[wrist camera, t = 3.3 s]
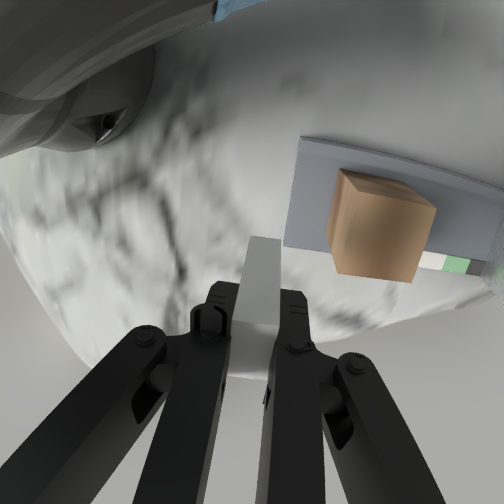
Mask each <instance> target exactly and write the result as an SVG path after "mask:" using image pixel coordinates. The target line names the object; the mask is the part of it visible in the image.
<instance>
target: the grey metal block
mask: <svg viewBox="0 0 504 504" xmlns="http://www.w3.org/2000/svg"><path fill="white" fill-rule="evenodd" d="M485 262H486V263H485V265H484V268H483V270H482V273H481V275H480V277H481V278H482V279H483V280H484V281H485V283H486V284H487V285H488V286H489V287H490V288H491V290H492V291H493V292H494V293H495V294H496V296H497V297H498V298H499V299H500V300H501V302H502V303H503V304H504V209H503V213H502V216H501V219H500V222H499V225H498V228H497V231H496V234H495V237H494V239H493V242H492V245H491V247H490V250H489V253H488V255H487V258H486V260H485Z"/></svg>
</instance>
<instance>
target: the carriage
mask: <svg viewBox="0 0 504 504" xmlns="http://www.w3.org/2000/svg"><path fill="white" fill-rule="evenodd" d="M436 210H437V208H436V207H435V206H433V205H432V204H431V203H430V202H428V201H427V200H426V199H425V198H423V197H422V196H421V195H419V194H418V193H417V192H415V191H414V190H413V189H411V188H410V187H409V186H407V185H406V184H405V183H403V182H401V181H397V180H392V179H388V178H383V177H379V176H374V175H369V174H365V173H360V172H355V171H350V170H345V169H339V170H338V175H337V180H336V186H335V191H334V196H333V200H332V205H331V210H330V215H329V220H328V224H327V229H326V233H325V234H326V237H327V240H328V243H329V246H330V250H331V253H332V256H333V259H334V263H335V266H336V270H337V273H338V274H345V275H352V276H360V277H368V278H376V279H383V280H391V281H399V282H407V283H412V280H413V278H414V275H415V272H416V270H417V267H418V264H419V262H420V259H421V256H422V253H423V250H424V247H425V244H426V242H427V239H428V235H429V232H430V229H431V226H432V223H433V220H434V216H435V213H436Z"/></svg>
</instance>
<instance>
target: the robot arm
mask: <svg viewBox="0 0 504 504" xmlns="http://www.w3.org/2000/svg"><path fill="white" fill-rule="evenodd" d="M265 1H268V0H0V158H2V157H5V156H8V155H10V154H13V153H16V152H19V151H22V150H24V149H27V148H30V147H33V146H37V147H42V148H48V149H53V150H59V151H65V152H77V151H83V150H87V149H90V148H93V147H96V146H99V145H102V144H104V143H106V142H108V141H110V140H112V139H114V138H115V137H116V136H118V135H119V134H120V133H122V132H123V131H124V130H125V129H126V128H127V127H128V126H129V125H130V124H131V122H132V121H133V120H134V119H135V117H136V116H137V114H138V113H139V111H140V110H141V108H142V106H143V104H144V102H145V100H146V97H147V95H148V92H149V89H150V86H151V82H152V77H153V70H154V53H153V47H152V44H153V43H156V42H158V41H160V40H162V39H165V38H167V37H170V36H172V35H174V34H177V33H179V32H182V31H184V30H187V29H189V28H192V27H195V26H198V25H200V24H203V23H206V22H209V21H213V22H214V23H216V22H219V21H222V20H224V19H225V18H226V17H227V16H228V15H229V14H230V13H233V12H235V11H238V10H241V9H243V8H246V7H249V6H252V5H255V4H258V3H261V2H265ZM280 276H281V240H280V239H273V238H265V237H258V236H251V237H250V241H249V246H248V250H247V255H246V259H245V263H244V268H243V272H242V277H241V281H240V284H238V283H231V282H224V281H217V282H216V283H215V284H213V285H212V286H211V288H210V290H209V293H208V296H207V299H206V302H205V303H204V304H199V305H197V306H195V307H194V308H193V309H192V310H191V312H190V332H189V333H186V334H183V335H177V336H166V335H165V333H164V332H163V330H161V329H160V328H158V327H156V326H152V325H142V326H139V327H135V328H134V329H132V330H131V331H130V332H129V333H128V334H127V335H126V336H125V337H124V338H123V339H122V340H121V341H120V342H119V343H118V344H117V345H116V346H115V347H114V348H113V349H112V350H111V351H110V352H109V353H108V354H107V355H106V356H105V357H104V358H103V359H102V360H101V361H100V362H99V363H98V364H97V365H96V366H95V367H94V368H93V369H92V370H91V371H90V372H89V373H88V375H86V376H85V377H84V379H83V380H81V381H80V383H79V384H78V385H77V386H76V387H75V388H74V389H73V390H72V391H71V392H70V393H69V394H68V395H67V396H66V397H65V398H64V399H63V400H62V401H61V402H60V403H59V405H58V406H57V407H56V408H55V409H54V410H53V411H52V412H51V413H50V414H49V415H48V416H47V417H46V418H45V419H44V421H42V423H41V424H40V425H39V426H38V427H37V428H36V429H35V430H34V431H33V432H32V433H31V434H30V435H29V437H28V438H27V439H26V440H25V441H24V442H23V443H22V444H21V445H20V446H19V448H18V449H17V450H16V451H15V452H14V453H13V454H12V455H11V456H10V458H9V459H8V460H7V461H6V462H5V463H4V464H3V465H2V466H1V468H0V504H90V503H91V502H92V501H93V499H94V498H95V497H96V495H97V494H98V492H99V491H100V490H101V488H102V487H103V486H104V484H105V483H106V482H107V480H108V479H109V478H110V476H111V475H112V473H113V472H114V471H115V469H116V468H117V467H118V465H119V464H120V462H121V461H122V460H123V458H124V457H125V455H126V454H127V453H128V451H129V450H130V449H131V447H132V446H133V444H134V443H135V441H136V440H137V439H138V437H139V436H140V435H141V433H142V432H143V430H144V429H145V428H146V426H147V425H148V423H149V422H150V420H151V419H152V418H153V416H154V415H155V414H156V412H157V411H158V409H159V408H160V406H161V405H162V404H163V402H164V401H165V400H166V402H165V404H164V408H163V411H162V413H161V416H160V419H159V422H158V425H157V428H156V431H155V434H154V437H153V440H152V443H151V446H150V449H149V452H148V455H147V458H146V461H145V465H144V468H143V471H142V474H141V478H140V480H139V483H138V487H137V490H136V493H135V496H134V500H133V503H132V504H203V501H204V496H205V491H206V486H207V480H208V475H209V470H210V465H211V459H212V454H213V449H214V444H215V438H216V433H217V428H218V422H219V417H220V412H221V407H222V402H223V397H224V391H225V386H226V377H227V375H229V376H236V377H243V378H250V379H258V380H265V381H267V379H268V384H267V388H266V392H265V396H264V401H263V404H264V416H263V427H262V439H261V450H260V461H259V471H258V481H257V491H256V501H255V504H325V503H326V502H325V469H324V447H323V432H324V435H325V438H326V440H327V443H328V446H329V449H330V452H331V455H332V457H333V460H334V463H335V466H336V469H337V472H338V475H339V478H340V481H341V483H342V486H343V489H344V492H345V495H346V498H347V501H348V504H446V503H445V501H444V499H443V496H442V494H441V492H440V490H439V488H438V486H437V484H436V482H435V480H434V478H433V475H432V473H431V471H430V469H429V467H428V466H427V463H426V461H425V459H424V457H423V455H422V453H421V451H420V450H419V447H418V445H417V443H416V441H415V440H414V438H413V436H412V434H411V432H410V430H409V428H408V426H407V424H406V422H405V420H404V419H403V417H402V415H401V413H400V411H399V409H398V407H397V406H396V404H395V402H394V400H393V398H392V397H391V394H390V393H389V391H388V389H387V387H386V386H385V384H384V382H383V380H382V378H381V376H380V375H379V373H378V371H377V369H376V367H375V366H374V364H373V363H372V361H371V360H370V359H369V358H367V357H366V356H364V355H362V354H359V353H353V352H349V353H346V354H343V355H342V356H340V357H339V359H336V358H333V357H330V356H327V355H325V354H323V353H321V352H320V351H318V350H317V349H316V347H315V344H314V342H313V341H312V340H311V336H310V326H309V315H308V305H307V299H306V297H305V296H304V294H303V293H302V292H301V291H295V290H287V289H280ZM166 398H167V399H166Z"/></svg>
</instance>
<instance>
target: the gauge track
mask: <svg viewBox="0 0 504 504" xmlns="http://www.w3.org/2000/svg"><path fill="white" fill-rule="evenodd" d="M339 169H345V170H350V171H355V172H360V173H365V174H369V175H374V176H379V177H383V178H388V179H392V180H397V181H401V182H403V183H405V184H406V185H407V186H409V187H410V188H411V189H413V190H414V191H415V192H417V193H418V194H419V195H421V196H422V197H423V198H425V199H426V200H427V201H428V202H430V203H431V204H432V205H433V206H435V207H436V208H437V210H436V213H435V216H434V220H433V223H432V226H431V229H430V232H429V235H428V239H427V242H426V244H425V247H424V250H423V253H422V256H421V259H420V262H419V264H418V267H423V268H429V269H436V270H442V271H449V272H456V273H462V274H469V275H475V276H480V275H481V273H482V270H483V268H484V265H485V263H486V262H485V260H486V258H487V255H488V253H489V250H490V247H491V245H492V242H493V239H494V237H495V234H496V231H497V228H498V225H499V222H500V219H501V216H502V213H503V209H504V190H503V189H500V188H497V187H495V186H492V185H489V184H487V183H484V182H481V181H478V180H475V179H472V178H469V177H466V176H463V175H460V174H457V173H454V172H451V171H448V170H445V169H441V168H438V167H435V166H431V165H428V164H425V163H421V162H417V161H414V160H410V159H406V158H402V157H399V156H395V155H391V154H387V153H382V152H378V151H374V150H369V149H365V148H360V147H356V146H351V145H346V144H341V143H336V142H331V141H325V140H320V139H314V138H308V137H302V136H300V140H299V147H298V154H297V160H296V167H295V173H294V180H293V186H292V192H291V199H290V205H289V211H288V217H287V223H286V229H285V235H284V241H283V243H284V247H291V248H298V249H305V250H312V251H319V252H326V253H331V250H330V246H329V243H328V240H327V237H326V234H325V233H326V229H327V224H328V220H329V215H330V210H331V205H332V200H333V196H334V191H335V186H336V180H337V175H338V170H339Z"/></svg>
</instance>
